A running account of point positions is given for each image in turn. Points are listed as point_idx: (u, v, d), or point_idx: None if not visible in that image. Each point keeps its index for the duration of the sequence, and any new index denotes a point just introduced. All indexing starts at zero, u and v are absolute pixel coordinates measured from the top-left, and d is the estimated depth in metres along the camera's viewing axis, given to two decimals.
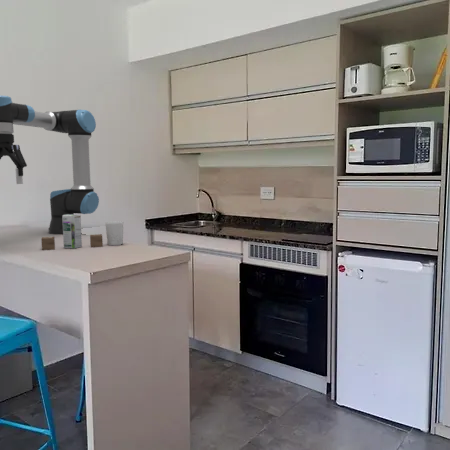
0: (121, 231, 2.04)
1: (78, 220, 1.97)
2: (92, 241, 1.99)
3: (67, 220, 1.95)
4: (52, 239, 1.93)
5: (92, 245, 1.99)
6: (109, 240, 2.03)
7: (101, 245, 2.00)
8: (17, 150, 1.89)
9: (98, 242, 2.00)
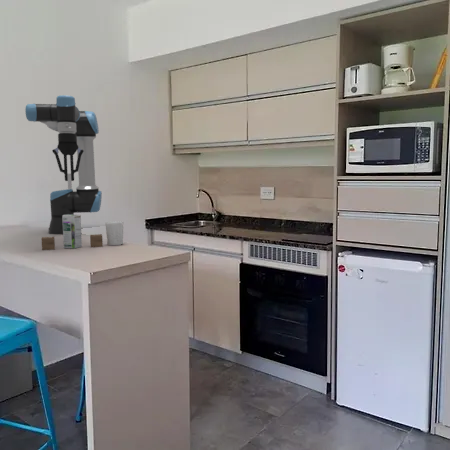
0: (121, 231, 2.04)
1: (78, 220, 1.97)
2: (92, 241, 1.99)
3: (67, 220, 1.95)
4: (52, 239, 1.93)
5: (92, 245, 1.99)
6: (109, 240, 2.03)
7: (101, 245, 2.00)
8: (81, 155, 1.95)
9: (98, 242, 2.00)
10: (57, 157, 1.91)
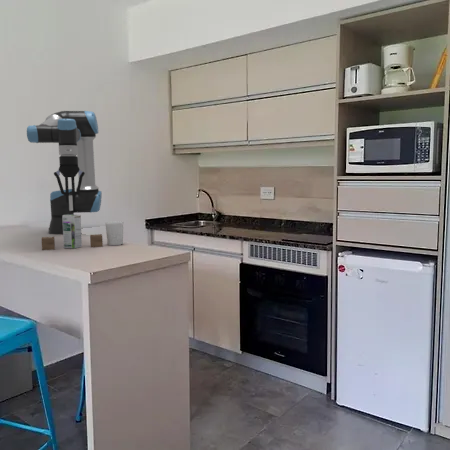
0: (121, 231, 2.04)
1: (78, 220, 1.97)
2: (92, 241, 1.99)
3: (67, 220, 1.95)
4: (52, 239, 1.93)
5: (92, 245, 1.99)
6: (109, 240, 2.03)
7: (101, 245, 2.00)
8: (82, 177, 1.97)
9: (98, 242, 2.00)
10: (58, 180, 1.93)
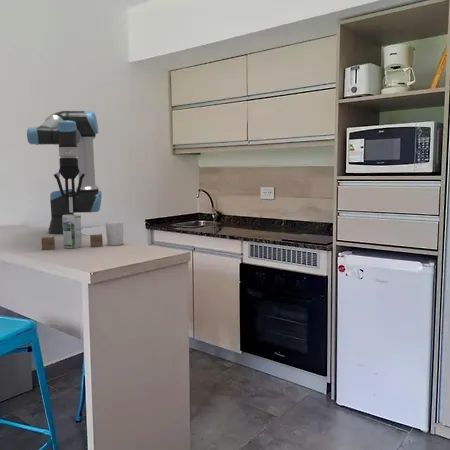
0: (121, 231, 2.04)
1: (78, 220, 1.97)
2: (92, 241, 1.99)
3: (67, 220, 1.95)
4: (52, 239, 1.93)
5: (92, 245, 1.99)
6: (109, 240, 2.03)
7: (101, 245, 2.00)
8: (82, 179, 1.97)
9: (98, 242, 2.00)
10: (58, 181, 1.93)
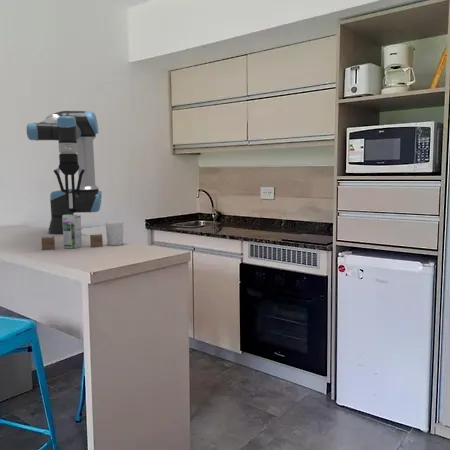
0: (121, 231, 2.04)
1: (78, 220, 1.97)
2: (92, 241, 1.99)
3: (67, 220, 1.95)
4: (52, 239, 1.93)
5: (92, 245, 1.99)
6: (109, 240, 2.03)
7: (101, 245, 2.00)
8: (82, 175, 1.96)
9: (98, 242, 2.00)
10: (58, 177, 1.93)
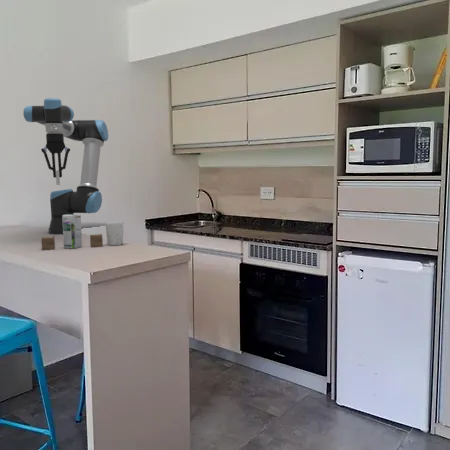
0: (121, 231, 2.04)
1: (78, 220, 1.97)
2: (92, 241, 1.99)
3: (67, 220, 1.95)
4: (52, 239, 1.93)
5: (92, 245, 1.99)
6: (109, 240, 2.03)
7: (101, 245, 2.00)
8: None
9: (98, 242, 2.00)
10: (46, 156, 2.07)
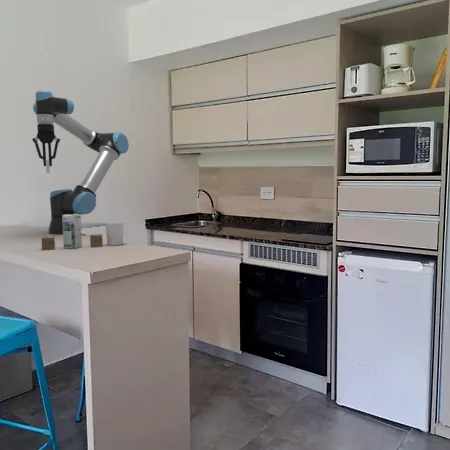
0: (121, 231, 2.04)
1: (78, 220, 1.97)
2: (92, 241, 1.99)
3: (67, 220, 1.95)
4: (52, 239, 1.93)
5: (92, 245, 1.99)
6: (109, 240, 2.03)
7: (101, 245, 2.00)
8: None
9: (98, 242, 2.00)
10: (36, 145, 2.17)
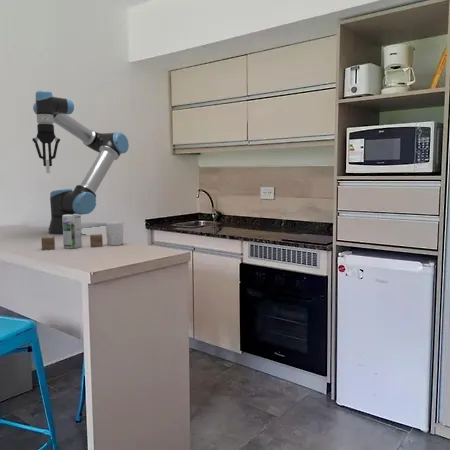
0: (121, 231, 2.04)
1: (78, 220, 1.97)
2: (92, 241, 1.99)
3: (67, 220, 1.95)
4: (52, 239, 1.93)
5: (92, 245, 1.99)
6: (109, 240, 2.03)
7: (101, 245, 2.00)
8: (57, 143, 2.21)
9: (98, 242, 2.00)
10: (36, 145, 2.17)
